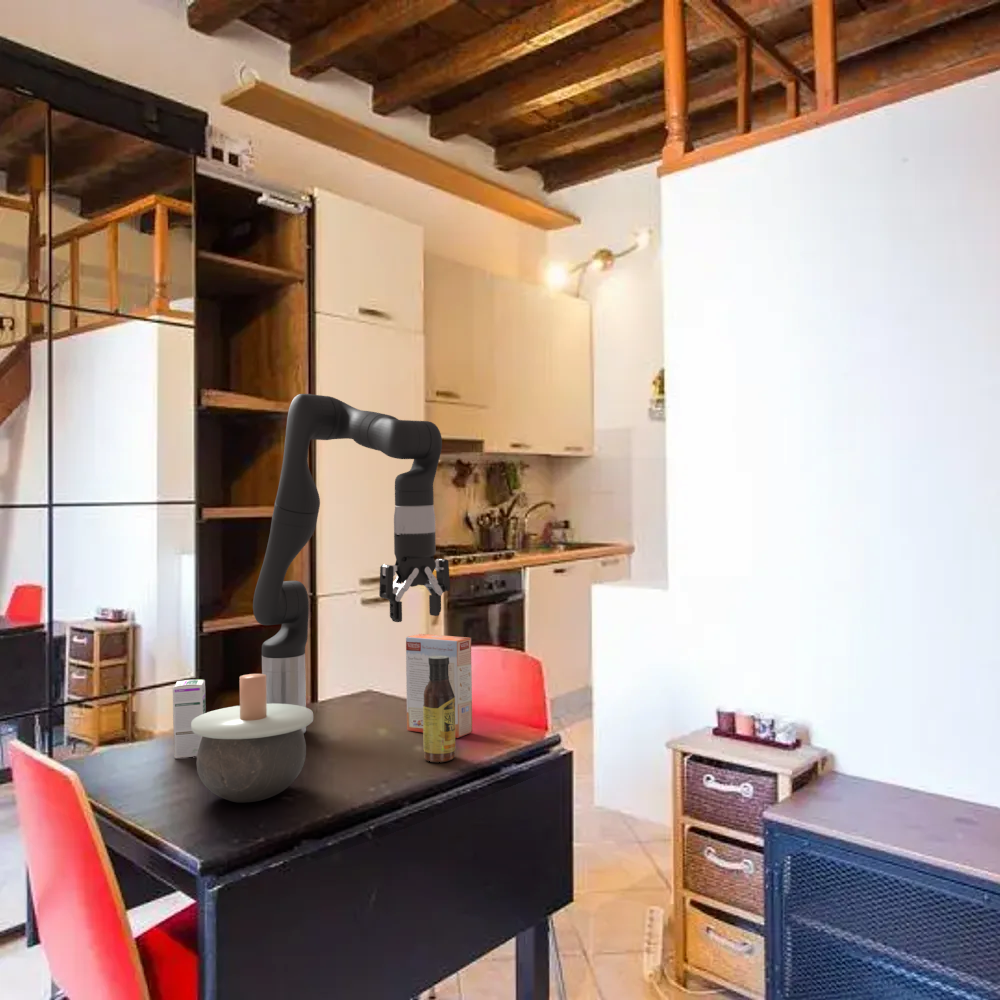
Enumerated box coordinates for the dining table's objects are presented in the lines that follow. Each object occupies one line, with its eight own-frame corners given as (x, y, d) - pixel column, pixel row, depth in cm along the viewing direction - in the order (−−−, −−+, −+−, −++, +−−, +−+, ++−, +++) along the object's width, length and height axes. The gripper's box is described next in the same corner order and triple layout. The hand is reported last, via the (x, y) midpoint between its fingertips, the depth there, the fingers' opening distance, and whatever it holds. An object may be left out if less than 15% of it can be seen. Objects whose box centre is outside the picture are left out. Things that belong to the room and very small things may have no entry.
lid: (168, 725, 143) (168, 678, 143) (269, 703, 158) (269, 661, 158) (233, 746, 130) (233, 694, 130) (336, 720, 145) (336, 674, 145)
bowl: (173, 808, 138) (172, 732, 138) (242, 775, 155) (242, 707, 155) (264, 821, 132) (263, 741, 132) (326, 785, 149) (325, 714, 149)
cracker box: (473, 733, 182) (472, 636, 182) (457, 739, 177) (456, 640, 177) (422, 724, 190) (421, 632, 190) (405, 730, 184) (404, 635, 185)
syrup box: (204, 756, 167) (203, 683, 167) (172, 759, 166) (172, 685, 166) (207, 748, 173) (206, 678, 173) (176, 751, 171) (175, 680, 171)
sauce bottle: (450, 764, 160) (449, 660, 160) (419, 763, 161) (418, 659, 161) (459, 754, 166) (458, 654, 166) (429, 753, 167) (427, 653, 168)
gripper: (433, 527, 160) (434, 611, 161) (370, 531, 151) (371, 621, 151) (458, 528, 155) (459, 616, 155) (394, 533, 145) (395, 626, 146)
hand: (416, 618), depth 153 cm, fingers open, 8 cm apart
